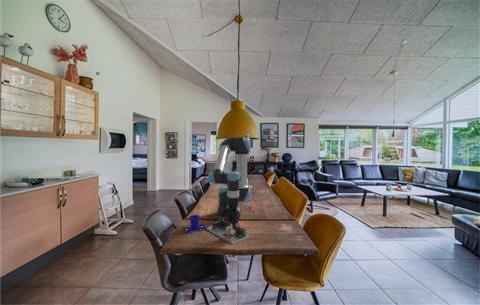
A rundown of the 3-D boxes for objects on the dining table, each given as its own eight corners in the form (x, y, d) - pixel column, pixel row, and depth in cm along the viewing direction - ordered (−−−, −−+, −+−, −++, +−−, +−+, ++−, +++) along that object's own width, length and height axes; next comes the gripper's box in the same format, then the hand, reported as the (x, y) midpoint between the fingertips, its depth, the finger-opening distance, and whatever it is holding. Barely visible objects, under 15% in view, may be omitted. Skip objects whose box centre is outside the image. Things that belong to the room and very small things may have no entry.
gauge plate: (206, 229, 145) (206, 219, 145) (222, 224, 154) (222, 215, 154) (232, 244, 124) (232, 232, 124) (249, 237, 134) (249, 226, 133)
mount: (203, 225, 153) (203, 213, 152) (206, 229, 146) (206, 216, 146) (182, 229, 145) (182, 217, 145) (185, 233, 139) (185, 220, 138)
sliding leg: (224, 234, 134) (224, 223, 134) (237, 229, 141) (237, 219, 141) (227, 235, 132) (227, 224, 131) (240, 231, 139) (240, 220, 138)
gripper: (222, 195, 134) (221, 231, 135) (235, 199, 125) (235, 238, 126) (231, 193, 139) (230, 228, 140) (244, 197, 130) (244, 235, 131)
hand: (232, 233), depth 133 cm, fingers closed
